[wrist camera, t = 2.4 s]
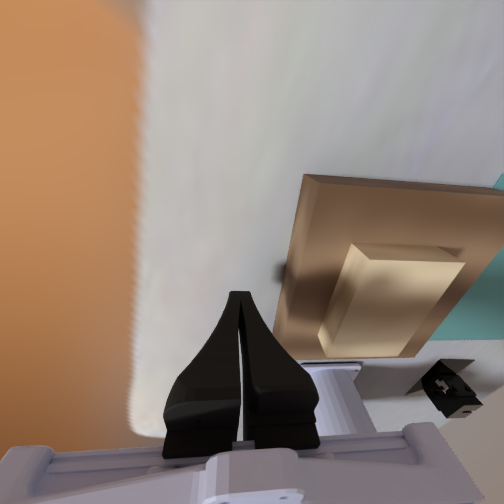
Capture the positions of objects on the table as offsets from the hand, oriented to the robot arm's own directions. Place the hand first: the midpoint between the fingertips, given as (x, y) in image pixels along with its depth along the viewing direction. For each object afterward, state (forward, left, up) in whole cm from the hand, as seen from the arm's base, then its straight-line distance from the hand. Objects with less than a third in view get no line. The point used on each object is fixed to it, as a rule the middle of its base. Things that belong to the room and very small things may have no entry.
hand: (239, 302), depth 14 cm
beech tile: (0, -10, -1) cm, 10 cm away
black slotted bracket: (-18, -30, -4) cm, 35 cm away
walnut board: (0, -11, -4) cm, 12 cm away
